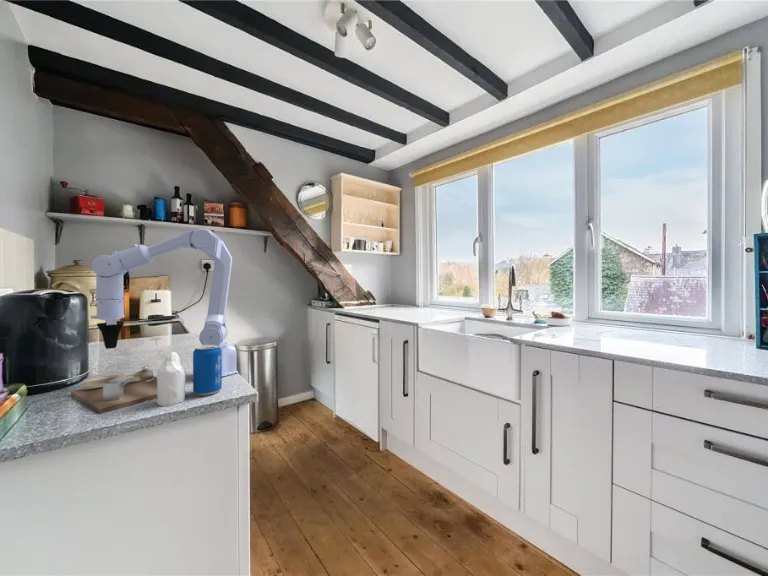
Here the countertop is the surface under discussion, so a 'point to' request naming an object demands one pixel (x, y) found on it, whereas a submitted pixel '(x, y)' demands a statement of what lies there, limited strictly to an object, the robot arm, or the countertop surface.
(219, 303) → the robot arm
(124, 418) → the countertop surface
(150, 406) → the countertop surface
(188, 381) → the countertop surface
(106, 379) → the link
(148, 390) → the wooden cutting board
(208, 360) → the beverage can
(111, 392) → the keeper
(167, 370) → the white bottle
